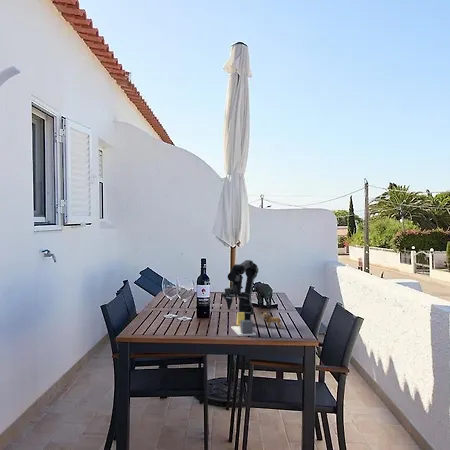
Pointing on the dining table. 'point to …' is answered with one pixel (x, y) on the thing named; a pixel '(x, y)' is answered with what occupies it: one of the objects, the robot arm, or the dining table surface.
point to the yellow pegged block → (240, 317)
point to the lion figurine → (271, 320)
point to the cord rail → (238, 330)
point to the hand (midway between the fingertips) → (234, 309)
